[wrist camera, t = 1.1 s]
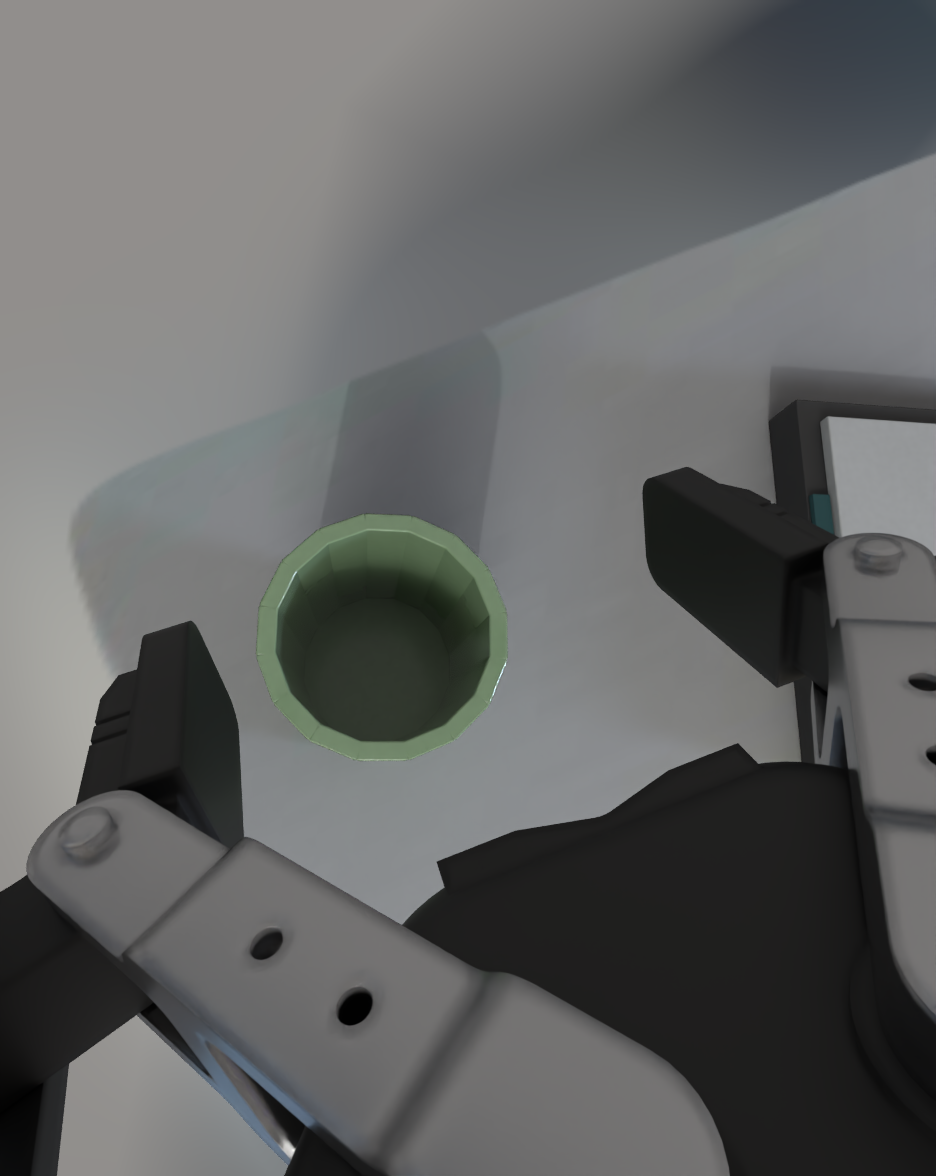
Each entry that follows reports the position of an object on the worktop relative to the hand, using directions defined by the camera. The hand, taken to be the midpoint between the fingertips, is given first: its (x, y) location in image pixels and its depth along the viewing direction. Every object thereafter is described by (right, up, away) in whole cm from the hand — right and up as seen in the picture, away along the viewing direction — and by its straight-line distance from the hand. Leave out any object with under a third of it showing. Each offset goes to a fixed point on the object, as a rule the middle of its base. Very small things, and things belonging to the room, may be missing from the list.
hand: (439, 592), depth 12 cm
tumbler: (-3, -3, +16) cm, 17 cm away
